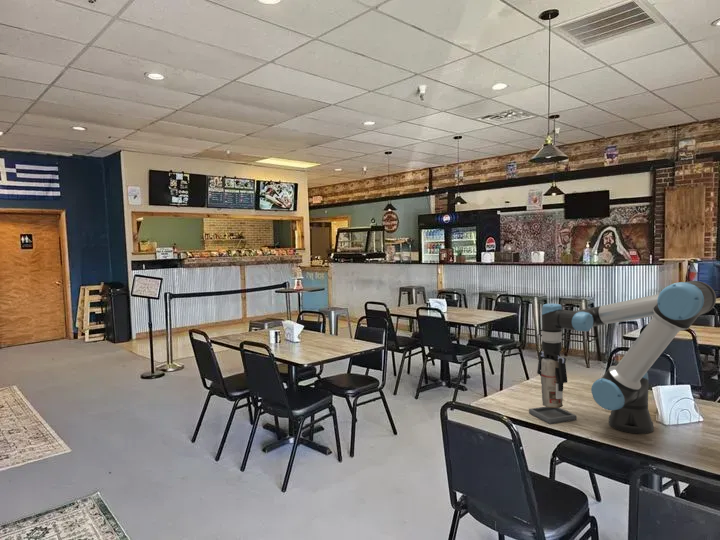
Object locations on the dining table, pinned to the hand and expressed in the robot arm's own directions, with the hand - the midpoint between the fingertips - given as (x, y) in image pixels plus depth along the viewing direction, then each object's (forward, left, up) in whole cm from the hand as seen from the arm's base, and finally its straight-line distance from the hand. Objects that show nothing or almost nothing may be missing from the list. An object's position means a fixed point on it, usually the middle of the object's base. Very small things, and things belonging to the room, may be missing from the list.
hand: (551, 395), depth 193 cm
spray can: (0, 0, -4) cm, 4 cm away
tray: (0, 0, -9) cm, 9 cm away
